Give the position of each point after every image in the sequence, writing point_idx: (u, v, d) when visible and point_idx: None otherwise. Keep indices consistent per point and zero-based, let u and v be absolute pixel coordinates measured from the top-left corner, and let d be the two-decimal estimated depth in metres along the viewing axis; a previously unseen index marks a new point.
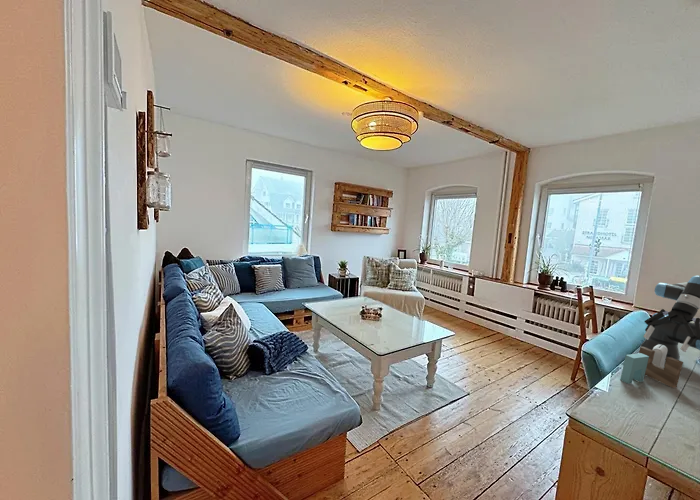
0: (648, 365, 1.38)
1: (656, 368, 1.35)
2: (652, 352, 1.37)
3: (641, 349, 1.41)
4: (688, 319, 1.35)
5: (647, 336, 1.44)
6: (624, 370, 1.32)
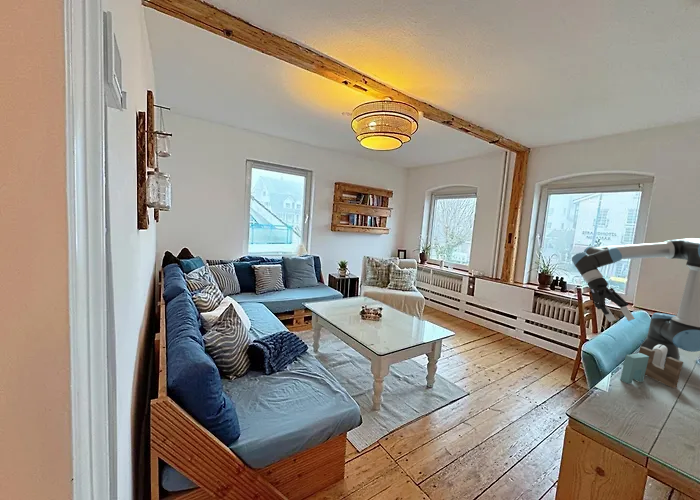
0: (648, 365, 1.38)
1: (656, 368, 1.35)
2: (652, 352, 1.37)
3: (641, 349, 1.41)
4: None
5: (629, 318, 1.42)
6: (624, 370, 1.32)
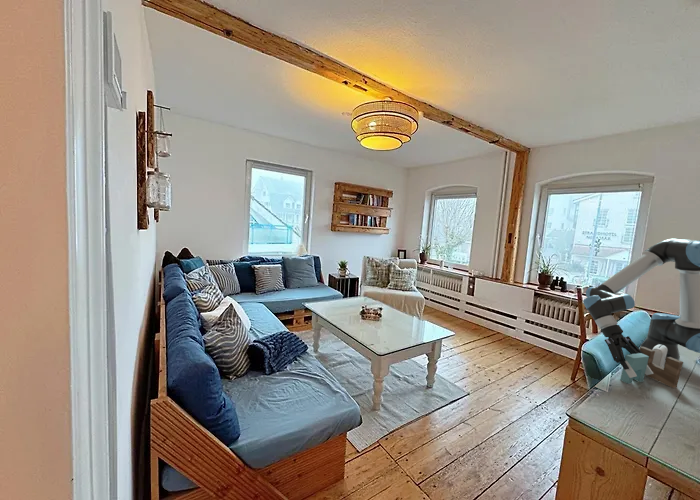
0: (648, 365, 1.38)
1: (656, 368, 1.35)
2: (652, 352, 1.37)
3: (641, 349, 1.41)
4: None
5: (647, 372, 1.32)
6: (624, 370, 1.32)
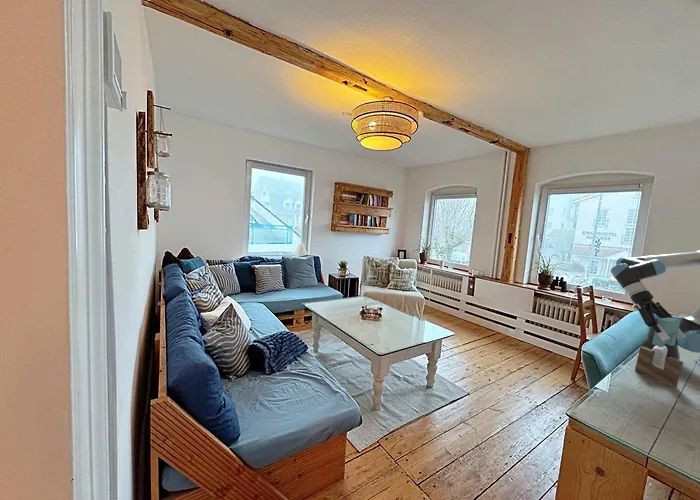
0: (648, 365, 1.38)
1: (656, 368, 1.35)
2: (652, 352, 1.37)
3: (641, 349, 1.41)
4: None
5: (679, 335, 1.33)
6: (656, 334, 1.33)
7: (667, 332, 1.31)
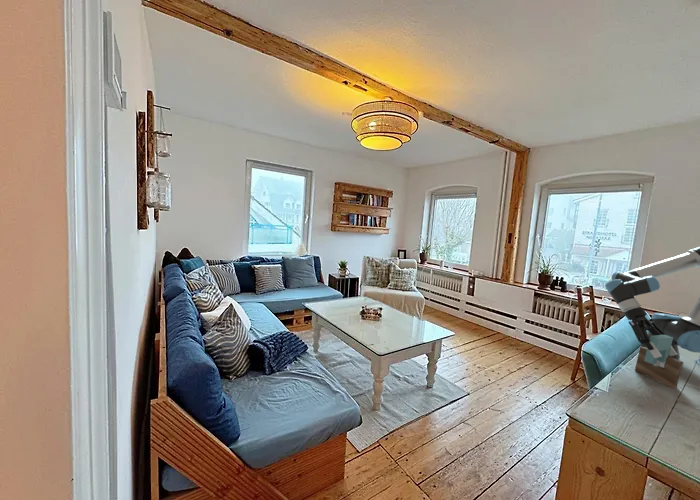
0: (648, 365, 1.38)
1: (656, 368, 1.35)
2: None
3: (641, 349, 1.41)
4: None
5: (671, 353, 1.34)
6: (648, 351, 1.34)
7: (659, 349, 1.33)
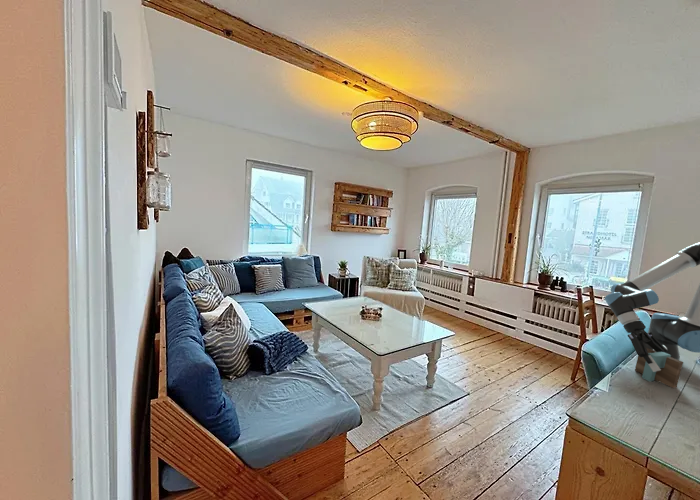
0: None
1: None
2: (652, 352, 1.37)
3: None
4: None
5: None
6: (646, 368, 1.35)
7: None
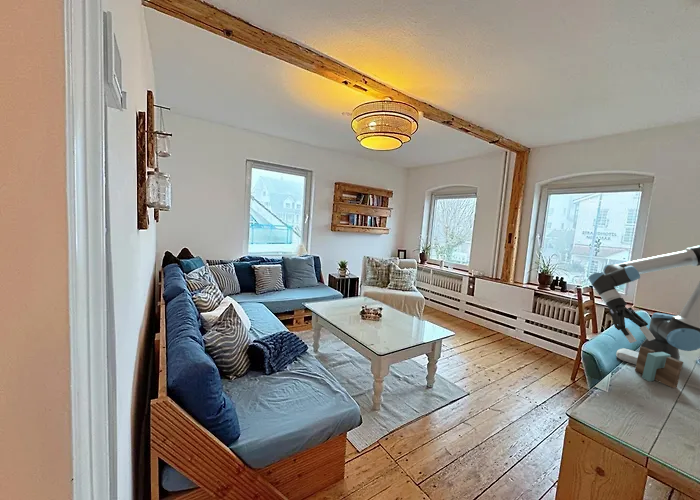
0: None
1: None
2: (652, 352, 1.37)
3: (641, 349, 1.41)
4: None
5: (649, 337, 1.44)
6: (646, 368, 1.35)
7: (657, 367, 1.34)
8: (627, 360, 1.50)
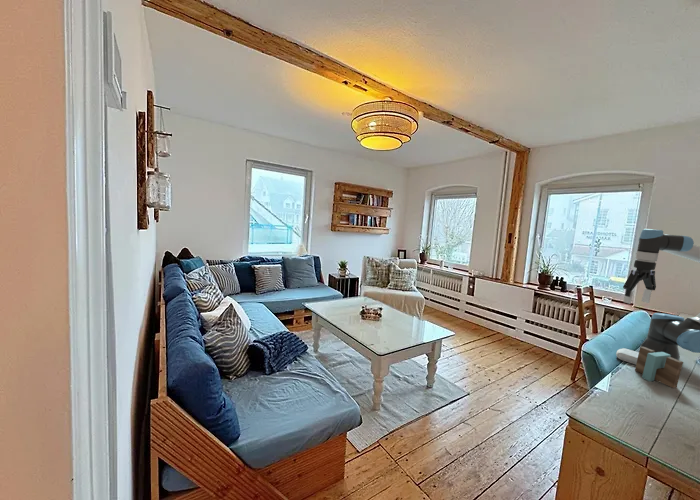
0: None
1: None
2: (652, 352, 1.37)
3: (641, 349, 1.41)
4: None
5: (644, 299, 1.51)
6: (646, 368, 1.35)
7: (657, 367, 1.34)
8: (627, 360, 1.50)
